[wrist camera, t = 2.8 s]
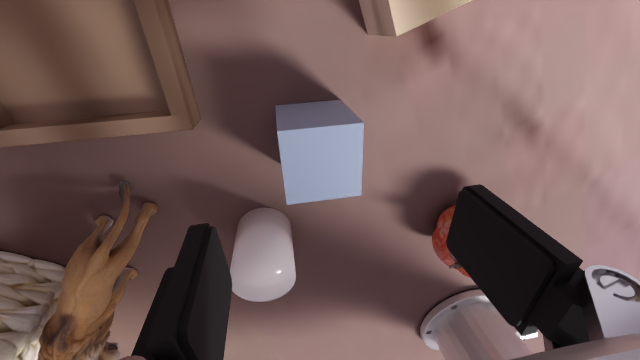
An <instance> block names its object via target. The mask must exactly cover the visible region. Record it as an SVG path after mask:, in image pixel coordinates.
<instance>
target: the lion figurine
mask: <svg viewBox="0 0 640 360" xmlns="http://www.w3.org/2000/svg"><path fill="white" fill-rule="evenodd" d="M119 187H120V191H119V195H120V197H121V201H122V208H121V212H120V215H119V217H118V219H117V221H116V223H115V225H114V227H113V228H112V230H111V231H110V233H109V234H108V236H107V237H106V238H105V240H104V241H103V238H104V233H105V232H106V231H107V230H108V229H109V228H110V227H111V226H112V224H113V220H112V219H111V218H110V217H109V216H105V215H103V216H100V217H98V218H97V219H96V221H95V223H96V225H97V228H96V229H95V230H94V231H93V232H92V234H90V235H89V236H88V237H87V238H86V239H85V240H84V242H82V243H81V244H80V245H79V246H78V247H77V249H76V251H75V252H74V254H73V255H72V257H71V259H70V260H69V262H68V264H67V266H66V269H65V273H64V276H63V279H62V288H63V289H62V291H61V293H60V295H59V298H58V305H57V309H56V312H55V314H54V315H53V316H52V317H51V318H50V319H49V320H48V321H47V323H46V324H45V326H44V328H43V330H42V333H41V335H40V338H39V344H40V349H39V352H38V360H119V358H120V353H119V351H118V350H117V349H118V343H108V342H107V340H108V338H109V336H110V333H111V332H110V330H109V329H110V327H111V324H112V321H113V316H114V310H115V307H116V306H117V304H118V303H119V301H120V300H121V298H122V296H123V294H124V291H125V286H126V284H127V282H128V280H130V279H134V278H135V277H136V276H138V272H137V271H136V270H135V269H134V268H128V267H126V265H127V264H128V262H129V261H130V259H131V258H132V257H133V255H134V253H135V251H136V249H137V247H138V245H139V242H140V240H141V237H142V234H143V230H144V228H145V225H146V224H147V222H148V220H149V216H152V215H154V214H155V213H156V212H157V206H156V205H155V204H153V203H144V204H143V206H142V208H141V210H140V212H139V214H138V215H137V217H136V219H135V223H134V227H133V229H132V231H131V233H130V234H129V235H128V236H127V237H126V239H124V240H123V241H122V242H121V243H120V244H119V245H118V246H116V247H115V248H113V249H112V250H111V248H112V246H113V245H114V243H115V241H116V240H117V238H118V236H119V234H120V232H121V230H122V228H123V226H124V224H125V222H126V220H127V218H128V214H129V209H130V191H131V188H130V187H129V184H128V182H126V181H125V180H121V181H120V183H119ZM125 267H126V268H125ZM115 280H116V282H115V284H114V281H115Z"/></svg>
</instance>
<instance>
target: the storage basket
mask: <svg viewBox="0 0 640 360" xmlns="http://www.w3.org/2000/svg"><path fill="white" fill-rule="evenodd" d="M65 269H66V268H65V267H63V266H61V265H58V264H55V263H52V262H48V261H44V260H38V259H31V258H29V257H26V256H23V255H19V254H15V253H10V252H4V251H0V360H38V352H39V349H40V344H39V338H40V335H41V333H42V330H43V328H44V326H45V324H46V323H47V321H48V320H49V319H50V318H51V317H52V316H53V315H54V314H55V312H56V309H57V305H58V298H59V295H60V293H61V291H62V289H63V288H62V279H63V276H64V273H65Z"/></svg>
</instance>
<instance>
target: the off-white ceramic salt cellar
mask: <svg viewBox="0 0 640 360" xmlns="http://www.w3.org/2000/svg"><path fill="white" fill-rule="evenodd" d="M230 274H231V278H232V291H233V292H234V293H235V294H236V295H237V296H239V297H240V298H243V299H245V300H249V301H254V302H265V301H271V300H274V299H277V298H279V297H281V296H283V295H285V294H286V293H287V292H289V291H290V290H291V288H292V287H293V285H294V284H295V281H296V271H295V261H294V252H293V242H292V232H291V224H290V221H289V219H288V218H287V216H286V215H285V214H284V213H282V212H281V211H279V210H276V209H273V208H265V207H264V208H257V209H253V210H251V211H249V212H247V213H246V214H245V215H243V216H242V218H241V219H240V221H239V223H238V226H237V232H236V238H235V244H234V250H233V256H232V262H231V267H230Z"/></svg>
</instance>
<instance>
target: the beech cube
mask: <svg viewBox="0 0 640 360" xmlns="http://www.w3.org/2000/svg"><path fill="white" fill-rule="evenodd" d="M470 1H472V0H359V4H360V8H361V11H362V15H363V19H364V22H365V26H366V29H367V33H368V35H380V36H399V35H401V34H403V33H405V32H407V31H409V30H411V29H413V28H415V27H417V26H420V25H422V24H424V23H426V22H428V21H430V20H432V19H434V18H436V17H438V16H441V15H443V14H445V13H447V12H449V11H451V10H453V9H455V8H457V7H459V6H462V5H464V4H466V3H468V2H470Z"/></svg>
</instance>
